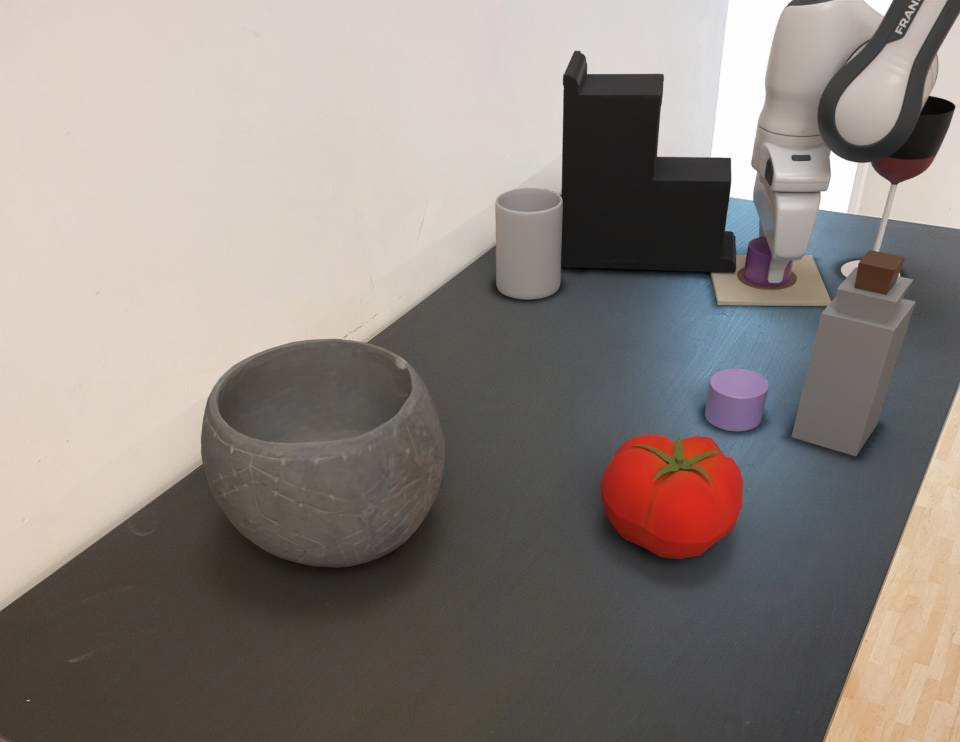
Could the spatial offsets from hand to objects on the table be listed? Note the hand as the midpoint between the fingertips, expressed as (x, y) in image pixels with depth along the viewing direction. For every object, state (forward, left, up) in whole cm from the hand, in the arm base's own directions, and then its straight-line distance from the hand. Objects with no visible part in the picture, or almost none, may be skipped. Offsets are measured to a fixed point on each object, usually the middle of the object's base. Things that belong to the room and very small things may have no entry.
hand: (768, 265), depth 121 cm
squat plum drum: (0, 0, -1) cm, 1 cm away
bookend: (+15, -7, -2) cm, 17 cm away
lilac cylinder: (+8, +33, -2) cm, 34 cm away
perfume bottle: (-2, +36, -2) cm, 36 cm away
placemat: (0, 0, -2) cm, 2 cm away
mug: (+31, 0, -2) cm, 31 cm away
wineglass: (-14, -3, -2) cm, 15 cm away
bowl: (+47, +54, -2) cm, 72 cm away
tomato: (+16, +53, -2) cm, 55 cm away
